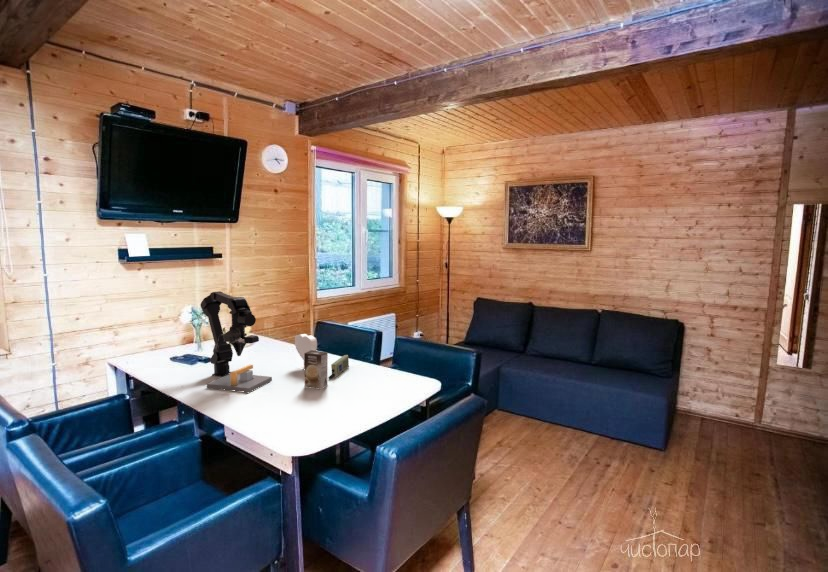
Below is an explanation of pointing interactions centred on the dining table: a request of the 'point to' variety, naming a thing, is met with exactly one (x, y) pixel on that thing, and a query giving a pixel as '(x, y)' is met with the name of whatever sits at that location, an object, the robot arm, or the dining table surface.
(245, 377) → the plug
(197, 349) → the dining table surface
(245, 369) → the long orange beam
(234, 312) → the robot arm
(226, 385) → the socket board
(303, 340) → the heart sculpture
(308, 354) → the coffee box
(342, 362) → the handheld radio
